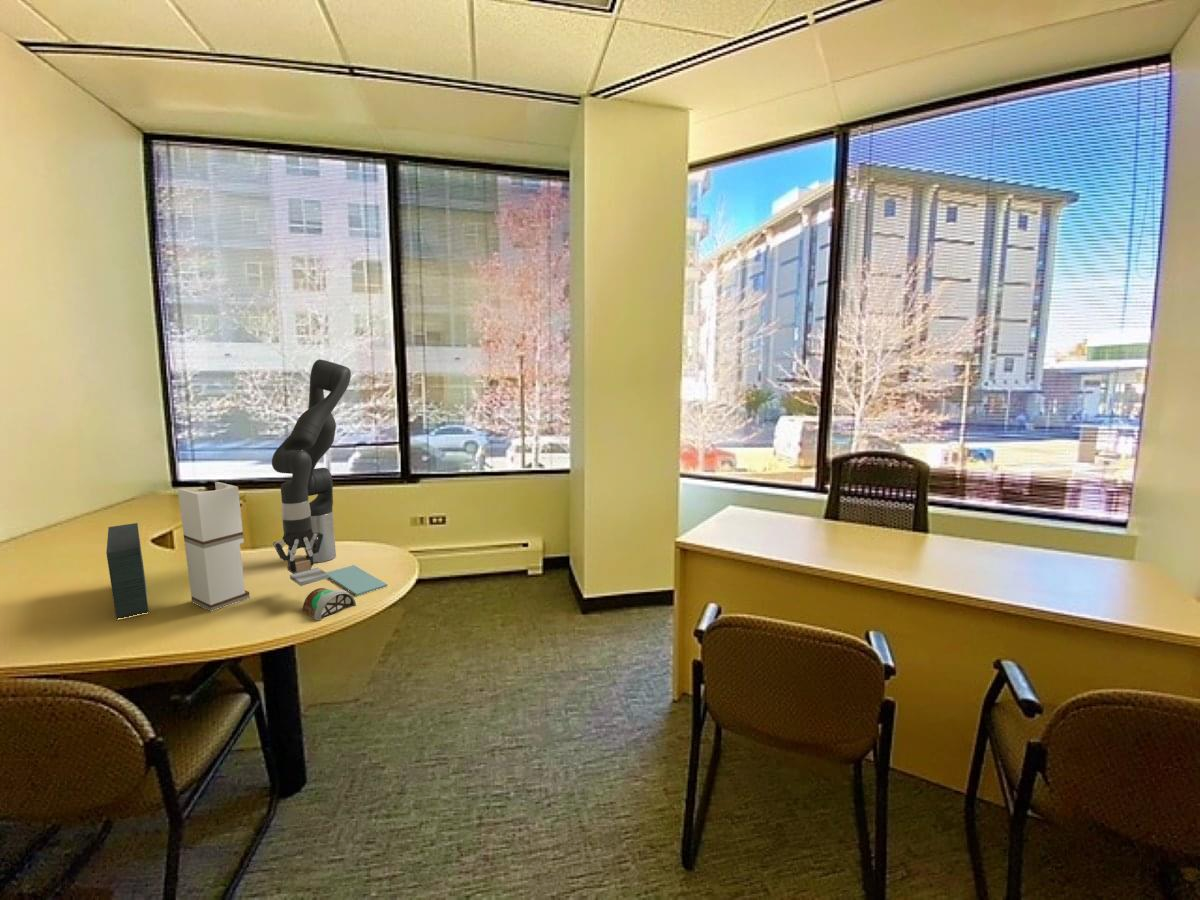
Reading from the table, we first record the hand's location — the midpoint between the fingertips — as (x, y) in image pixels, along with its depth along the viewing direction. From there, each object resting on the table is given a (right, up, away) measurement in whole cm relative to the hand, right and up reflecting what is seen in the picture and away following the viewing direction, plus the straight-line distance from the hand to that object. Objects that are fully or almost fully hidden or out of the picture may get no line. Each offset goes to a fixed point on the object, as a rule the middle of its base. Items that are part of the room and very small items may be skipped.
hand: (301, 569), depth 169 cm
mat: (+11, -7, +13) cm, 18 cm away
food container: (+7, -7, -5) cm, 11 cm away
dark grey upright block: (-50, -9, -2) cm, 51 cm away
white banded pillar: (-23, -9, -2) cm, 25 cm away
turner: (+2, -2, -1) cm, 2 cm away
